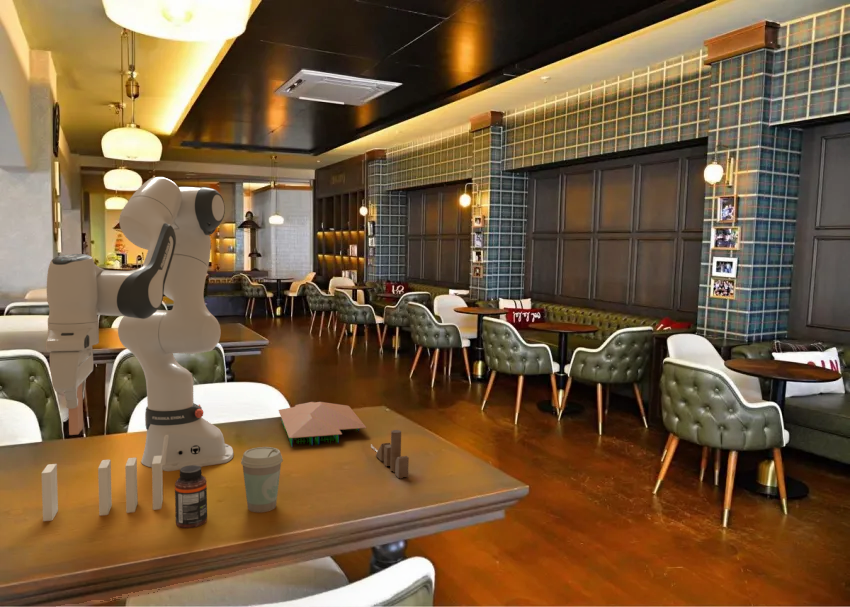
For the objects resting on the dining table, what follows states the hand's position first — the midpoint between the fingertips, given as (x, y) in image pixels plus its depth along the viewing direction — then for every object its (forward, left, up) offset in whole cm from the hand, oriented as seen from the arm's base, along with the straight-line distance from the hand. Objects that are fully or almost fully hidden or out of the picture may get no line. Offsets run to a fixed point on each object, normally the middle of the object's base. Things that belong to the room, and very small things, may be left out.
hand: (75, 403), depth 126 cm
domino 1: (0, 0, -6) cm, 6 cm away
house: (-58, -48, -24) cm, 78 cm away
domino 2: (-5, 0, -23) cm, 23 cm away
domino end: (+5, 0, -23) cm, 23 cm away
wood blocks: (-69, -13, -23) cm, 74 cm away
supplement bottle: (-22, +11, -23) cm, 34 cm away
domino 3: (-10, 0, -23) cm, 25 cm away
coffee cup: (-36, +7, -23) cm, 43 cm away
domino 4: (-15, 0, -23) cm, 27 cm away
